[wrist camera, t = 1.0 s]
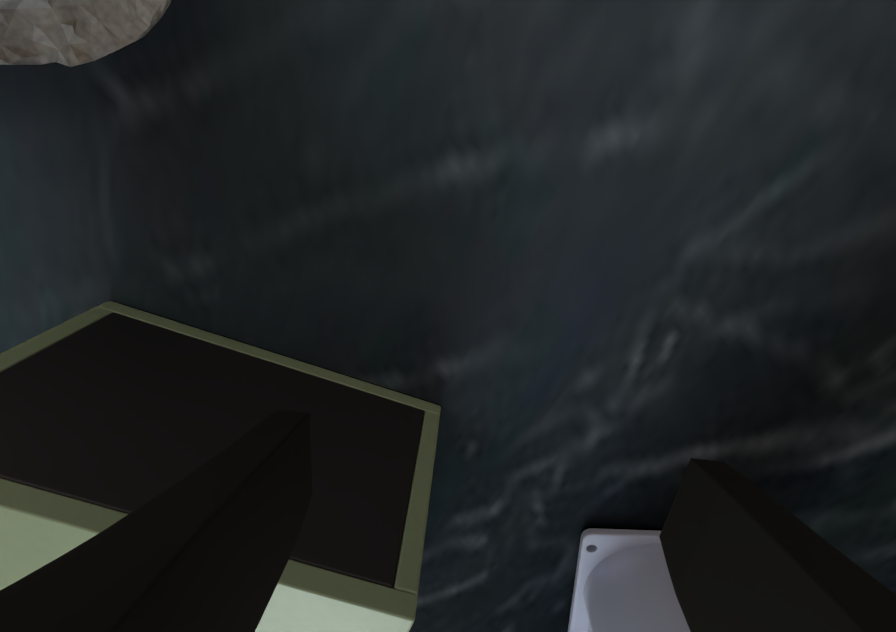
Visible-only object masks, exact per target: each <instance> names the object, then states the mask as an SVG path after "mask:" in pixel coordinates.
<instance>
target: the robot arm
mask: <svg viewBox="0 0 896 632" xmlns="http://www.w3.org/2000/svg"><path fill="white" fill-rule="evenodd" d="M312 494H313V492H312V463H311V434H310V413H305V412H296V411H288V410H280V409H278V410H277V411H275V412H274V413H272V414H271V415H269V416H268V417H267V418H265V419H264V420H262V421H261V422H260V423H258V424H257V425H256V426H254V427H253V428H252V429H250V430H249V431H247V432H246V433H245V434H243V435H242V436H241V437H239V438H238V439H237V440H235V441H234V442H233V443H231V444H230V445H228V446H227V447H226V448H224V449H223V450H222V451H220V452H219V453H217V454H216V455H215V456H213V457H212V458H211V459H209V460H208V461H206V462H205V463H203V464H202V465H201V466H199V467H198V468H196V469H195V470H194V471H192V472H191V473H189V474H188V475H187V476H185V477H184V478H182V479H181V480H180V481H178V482H177V483H175V484H174V485H172V486H171V487H169V488H168V489H166V490H165V491H163V492H162V493H160V494H159V495H157V496H156V497H154V498H152V499H151V500H149V501H148V502H146V503H145V504H143V505H142V506H140V507H139V508H137V509H136V510H134V511H133V512H131V513H130V514H128V515H127V516H125V517H124V518H122V519H120V520H119V521H117V522H116V523H114V524H113V525H111V526H110V527H108V528H107V529H105V530H103V531H102V532H100V533H99V534H97V535H95V536H94V537H92V538H90V539H89V540H87V541H85V542H84V543H82V544H80V545H79V546H77V547H75V548H74V549H72V550H70V551H69V552H67V553H65V554H64V555H62V556H60V557H58V558H57V559H55V560H53V561H51V562H50V563H48V564H46V565H44V566H43V567H41V568H39V569H37V570H36V571H34V572H32V573H30V574H29V575H27V576H25V577H23V578H22V579H20V580H18V581H16V582H15V583H13V584H11V585H9V586H7V587H6V588H4V589H2V590H0V632H255V630H256V628H257V626H258V624H259V622H260V620H261V618H262V616H263V614H264V611H265V609H266V607H267V605H268V603H269V601H270V599H271V597H272V595H273V592H274V590H275V588H276V586H277V584H278V582H279V580H280V577H281V575H282V573H283V571H284V569H285V567H286V565H287V562H288V560H289V558H290V556H291V554H292V551H293V549H294V547H295V544H296V541H297V539H298V536H299V533H300V530H301V527H302V524H303V522H304V519H305V516H306V513H307V510H308V507H309V504H310V500H311V497H312ZM568 632H896V595H895V594H894V593H893V592H891V591H890V590H889V589H888V588H886V587H885V586H884V585H882V584H881V583H880V582H878V581H877V580H876V579H874V578H873V577H872V576H870V575H869V574H868V573H867V572H865V571H864V570H863V569H861V568H860V567H859V566H858V565H856V564H855V563H854V562H852V561H851V560H850V559H849V558H847V557H846V556H845V555H843V554H842V553H841V552H840V551H838V550H837V549H836V548H834V547H833V546H832V545H831V544H829V543H828V542H827V541H826V540H824V539H823V538H822V537H821V536H819V535H818V534H817V533H815V532H814V531H813V530H812V529H810V528H809V527H808V526H807V525H805V524H804V523H803V522H802V521H800V520H799V519H798V518H797V517H795V516H794V515H793V514H792V513H790V512H789V511H788V510H786V509H785V508H784V507H783V506H781V505H780V504H779V503H778V502H776V501H775V500H774V499H773V498H771V497H770V496H769V495H768V494H766V493H765V492H764V491H762V490H761V489H760V488H759V487H757V486H756V485H755V484H753V483H752V482H751V481H749V480H748V479H747V478H745V477H744V476H743V475H741V474H740V473H739V472H737V471H736V470H735V469H733V468H732V467H730V466H729V465H727V464H726V463H724V462H718V461H709V460H701V459H693V458H691V460H690V462H689V465H688V467H687V470H686V472H685V475H684V477H683V480H682V482H681V484H680V487H679V489H678V492H677V494H676V497H675V499H674V501H673V504H672V506H671V509H670V511H669V514H668V516H667V519H666V521H665V523H664V526H663V528H662V531H657V530H628V529H598V528H590V529H586V530H584V531H583V532H582V534H581V539H580V546H579V553H578V560H577V568H576V575H575V582H574V589H573V596H572V604H571V611H570V618H569V625H568Z"/></svg>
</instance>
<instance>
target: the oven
mask: <svg viewBox="0 0 896 632" xmlns="http://www.w3.org/2000/svg"><path fill="white" fill-rule="evenodd" d="M278 409H280V410H288V411H296V412H305V413H310V434H311V463H312V492H313V494H312V497H311V500H310V504H309V507H308V510H307V513H306V516H305V519H304V522H303V524H302V527H301V530H300V533H299V536H298V539H297V541H296V544H295V547H294V549H293V551H292V554H291V556H290V558H289V560H288V562H287V565H286V567H285V569H284V571H283V573H282V575H281V577H280V580H279V582H278V584H277V586H276V588H275V590H274V592H273V595H272V597H271V599H270V601H269V603H268V605H267V607H266V609H265V611H264V614H263V616H262V618H261V620H260V622H259V624H258V626H257V628H256V630H255V632H409V631H410V629H411V627H412V625H413V622H414V620H415V614H416V606H417V594H418V588H419V580H420V572H421V564H422V556H423V548H424V540H425V532H426V524H427V516H428V508H429V500H430V492H431V484H432V476H433V468H434V460H435V452H436V444H437V436H438V427H439V419H440V412H441V406H439V405H436V404H433V403H430V402H427V401H424V400H420V399H417V398H414V397H411V396H408V395H405V394H402V393H398V392H395V391H392V390H389V389H386V388H383V387H380V386H376V385H373V384H370V383H367V382H364V381H361V380H358V379H354V378H351V377H348V376H345V375H342V374H339V373H336V372H332V371H329V370H326V369H323V368H320V367H317V366H314V365H310V364H307V363H304V362H301V361H298V360H295V359H292V358H288V357H285V356H282V355H279V354H276V353H273V352H270V351H266V350H263V349H260V348H257V347H254V346H251V345H248V344H244V343H241V342H238V341H235V340H232V339H229V338H226V337H223V336H219V335H216V334H213V333H210V332H207V331H204V330H201V329H197V328H194V327H191V326H188V325H185V324H182V323H179V322H175V321H172V320H169V319H166V318H163V317H160V316H157V315H153V314H150V313H147V312H144V311H141V310H138V309H135V308H131V307H128V306H125V305H122V304H119V303H116V302H113V301H107V302H105V303H103V304H101V305H99V306H98V307H94V308H92V309H90V310H88V311H86V312H84V313H82V314H80V315H78V316H76V317H74V318H72V319H70V320H68V321H66V322H64V323H62V324H60V325H58V326H56V327H54V328H52V329H50V330H48V331H46V332H44V333H42V334H40V335H37V336H35V337H33V338H31V339H29V340H27V341H25V342H23V343H21V344H19V345H17V346H15V347H13V348H11V349H9V350H7V351H5V352H3V353H1V354H0V590H2V589H4V588H6V587H7V586H9V585H11V584H13V583H15V582H16V581H18V580H20V579H22V578H23V577H25V576H27V575H29V574H30V573H32V572H34V571H36V570H37V569H39V568H41V567H43V566H44V565H46V564H48V563H50V562H51V561H53V560H55V559H57V558H58V557H60V556H62V555H64V554H65V553H67V552H69V551H70V550H72V549H74V548H75V547H77V546H79V545H80V544H82V543H84V542H85V541H87V540H89V539H90V538H92V537H94V536H95V535H97V534H99V533H100V532H102V531H103V530H105V529H107V528H108V527H110V526H111V525H113V524H114V523H116V522H117V521H119V520H120V519H122V518H124V517H125V516H127V515H128V514H130V513H131V512H133V511H134V510H136V509H137V508H139V507H140V506H142V505H143V504H145V503H146V502H148V501H149V500H151V499H152V498H154V497H156V496H157V495H159V494H160V493H162V492H163V491H165V490H166V489H168V488H169V487H171V486H172V485H174V484H175V483H177V482H178V481H180V480H181V479H182V478H184V477H185V476H187V475H188V474H189V473H191V472H192V471H194V470H195V469H196V468H198V467H199V466H201V465H202V464H203V463H205V462H206V461H208V460H209V459H211V458H212V457H213V456H215V455H216V454H217V453H219V452H220V451H222V450H223V449H224V448H226V447H227V446H228V445H230V444H231V443H233V442H234V441H235V440H237V439H238V438H239V437H241V436H242V435H243V434H245V433H246V432H247V431H249V430H250V429H252V428H253V427H254V426H256V425H257V424H258V423H260V422H261V421H262V420H264V419H265V418H267V417H268V416H269V415H271V414H272V413H274V412H275V411H277V410H278Z"/></svg>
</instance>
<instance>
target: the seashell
mask: <svg viewBox="0 0 896 632" xmlns="http://www.w3.org/2000/svg"><path fill="white" fill-rule="evenodd" d="M170 3H171V0H0V65H42V64H48V63H54V62H58V63H61V64H63V65H66V66H69V67H72V66H77V65H81V64H85V63H89V62H92V61H95V60H97V59H99V58H102V57H104V56H106V55H108V54H110V53H113V52H115V51H117V50H119V49H121V48H123V47H125V46H127V45H129V44H131V43H133V42H135V41H137V40H139V39H141V38H143V37H144V36H145V35H146V34H147V33H148V32H149V31H150V30H151V29H152V28H153V27H154V26H155V25H156V23H157V22H158V21H159V20H160V19H161V17H162V16H163V14H164V13H165V11H166V10H167V8H168V7H169V5H170Z"/></svg>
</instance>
